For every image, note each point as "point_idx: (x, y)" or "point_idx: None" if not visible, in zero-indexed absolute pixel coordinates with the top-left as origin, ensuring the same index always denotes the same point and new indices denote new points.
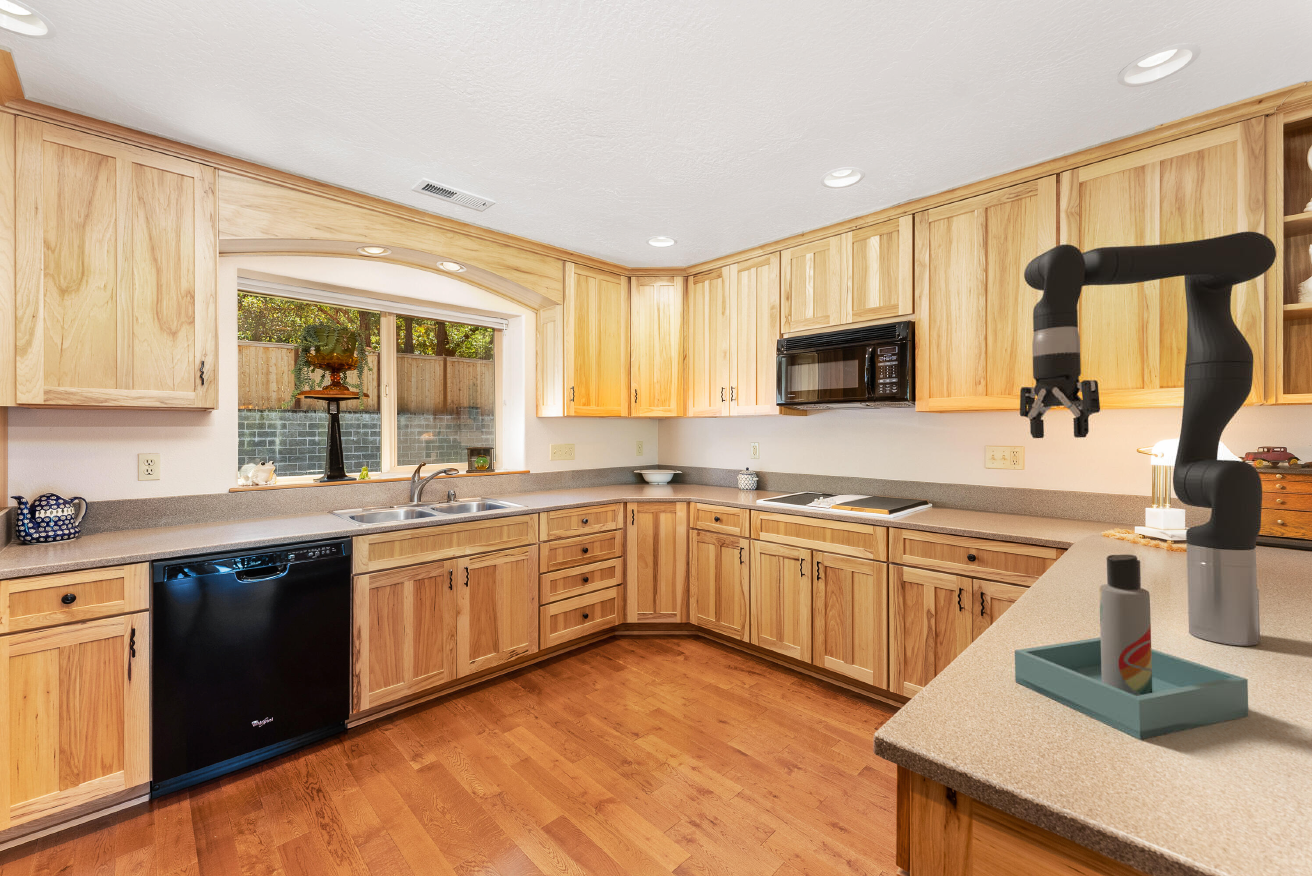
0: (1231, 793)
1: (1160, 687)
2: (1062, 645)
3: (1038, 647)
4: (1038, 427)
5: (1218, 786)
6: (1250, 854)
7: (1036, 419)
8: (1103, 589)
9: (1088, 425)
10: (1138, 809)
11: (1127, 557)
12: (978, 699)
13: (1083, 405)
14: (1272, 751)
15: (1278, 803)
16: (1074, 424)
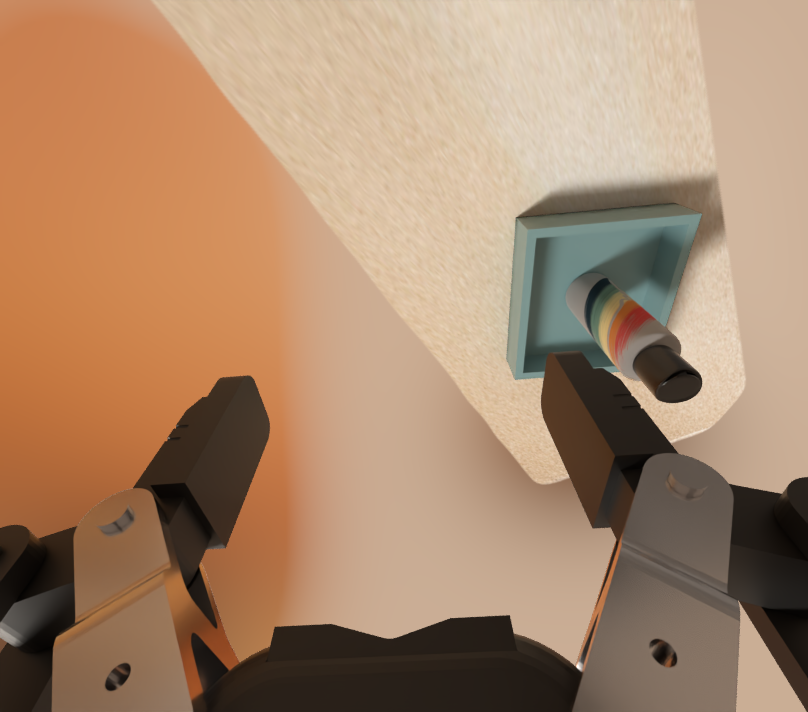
0: (703, 356)
1: (599, 245)
2: (526, 322)
3: (519, 351)
4: (239, 465)
5: (694, 356)
6: (726, 401)
7: (203, 532)
8: (632, 379)
9: (643, 409)
10: (671, 418)
11: (687, 388)
12: (520, 409)
13: (772, 646)
14: (708, 264)
15: (727, 340)
16: (576, 477)
